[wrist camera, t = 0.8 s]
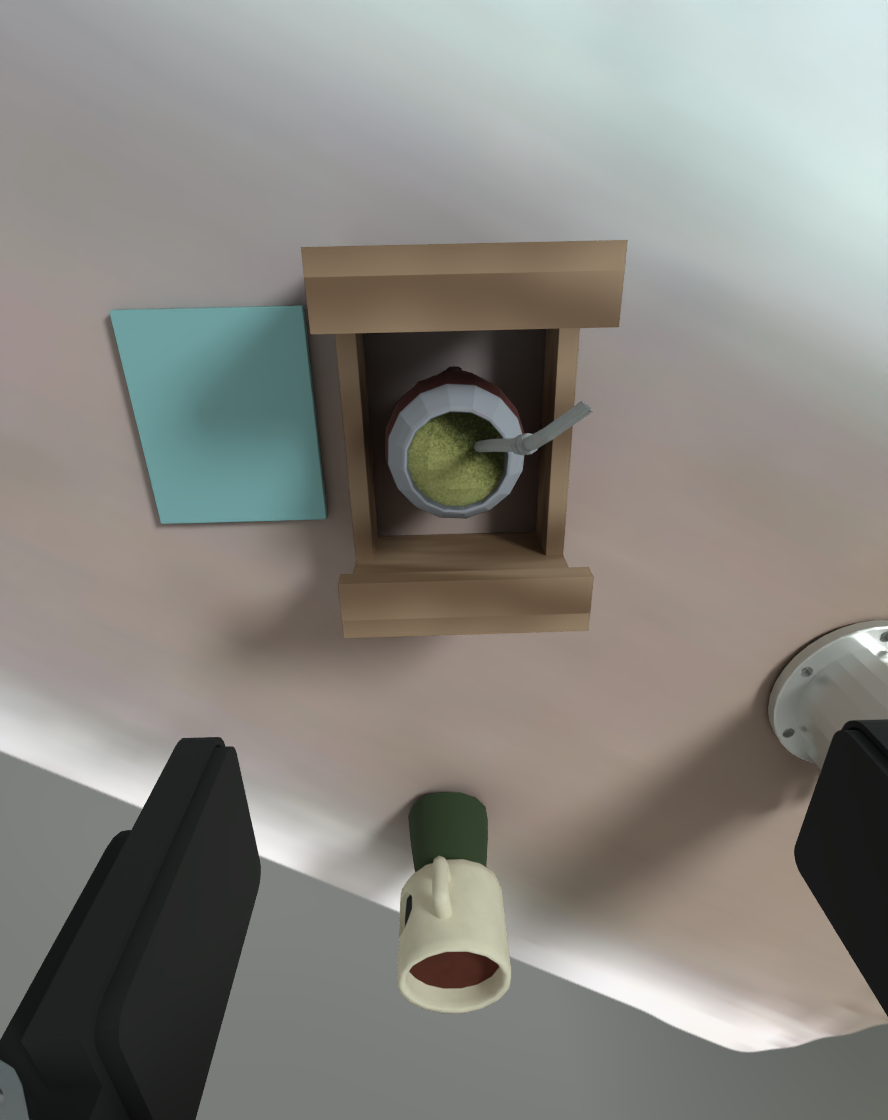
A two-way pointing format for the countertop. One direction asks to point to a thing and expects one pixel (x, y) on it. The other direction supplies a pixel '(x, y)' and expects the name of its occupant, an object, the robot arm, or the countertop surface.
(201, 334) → the teal mat
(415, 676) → the countertop surface
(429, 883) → the character mug
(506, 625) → the walnut box
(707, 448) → the countertop surface
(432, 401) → the mate gourd
